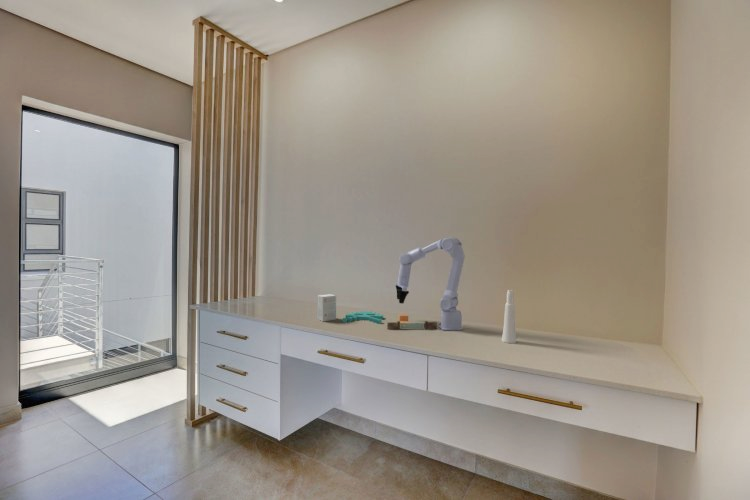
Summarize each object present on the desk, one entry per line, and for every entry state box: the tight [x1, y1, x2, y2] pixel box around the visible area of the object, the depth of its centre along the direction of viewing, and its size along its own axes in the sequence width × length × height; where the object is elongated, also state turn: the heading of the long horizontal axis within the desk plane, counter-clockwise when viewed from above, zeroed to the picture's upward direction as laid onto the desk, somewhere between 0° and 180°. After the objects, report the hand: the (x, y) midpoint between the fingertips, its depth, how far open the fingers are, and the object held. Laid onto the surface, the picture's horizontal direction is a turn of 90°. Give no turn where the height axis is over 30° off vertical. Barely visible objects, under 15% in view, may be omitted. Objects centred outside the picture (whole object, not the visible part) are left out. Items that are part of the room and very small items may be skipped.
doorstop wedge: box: [398, 313, 411, 323], centre depth 178 cm, size 4×8×4 cm, turn 4°
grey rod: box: [400, 322, 425, 329], centre depth 169 cm, size 12×2×2 cm, turn 95°
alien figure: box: [341, 310, 384, 325], centre depth 189 cm, size 20×2×20 cm
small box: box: [316, 293, 337, 322], centre depth 186 cm, size 8×6×13 cm
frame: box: [386, 320, 438, 330], centre depth 169 cm, size 24×2×4 cm, turn 95°
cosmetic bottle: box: [501, 289, 518, 344], centre depth 150 cm, size 6×6×22 cm
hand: (400, 301), depth 185 cm, fingers open, 7 cm apart
